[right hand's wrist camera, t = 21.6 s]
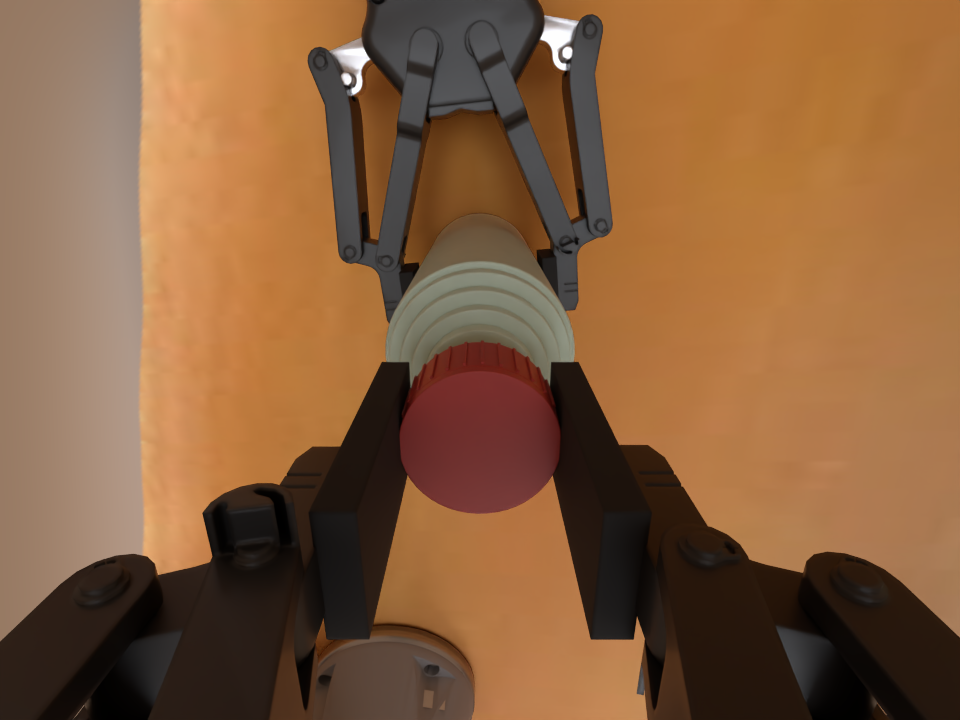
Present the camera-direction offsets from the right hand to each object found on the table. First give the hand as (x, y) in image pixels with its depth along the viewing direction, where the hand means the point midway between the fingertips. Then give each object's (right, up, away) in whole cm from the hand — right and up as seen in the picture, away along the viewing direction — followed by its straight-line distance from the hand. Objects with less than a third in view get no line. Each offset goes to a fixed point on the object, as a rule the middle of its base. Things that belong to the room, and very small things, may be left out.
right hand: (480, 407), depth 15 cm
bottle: (0, +8, +20) cm, 21 cm away
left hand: (0, +1, +16) cm, 16 cm away
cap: (0, -1, -2) cm, 2 cm away
